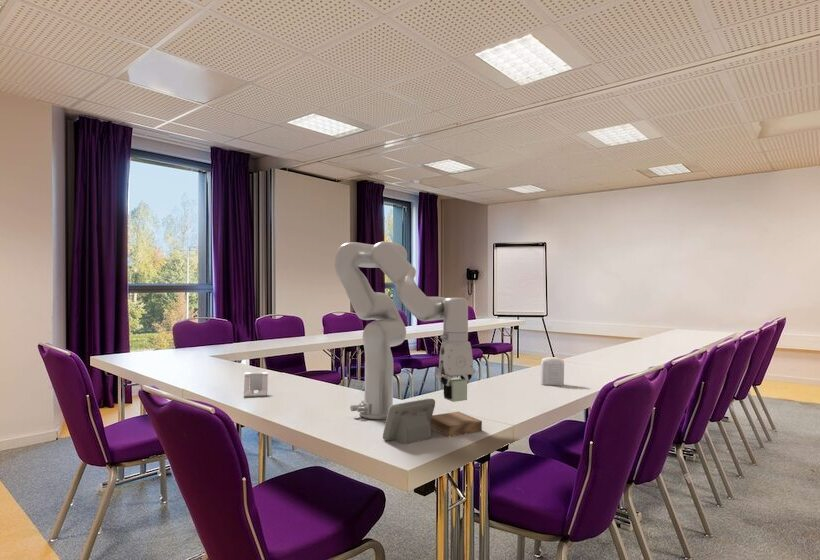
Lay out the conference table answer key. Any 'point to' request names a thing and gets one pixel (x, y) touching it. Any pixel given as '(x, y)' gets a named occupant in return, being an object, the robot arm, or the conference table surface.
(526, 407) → the conference table surface
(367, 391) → the robot arm
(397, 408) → the digital clock
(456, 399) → the sage block
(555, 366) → the photo printer
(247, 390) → the portable electronic device stand
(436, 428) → the wooden square slab
